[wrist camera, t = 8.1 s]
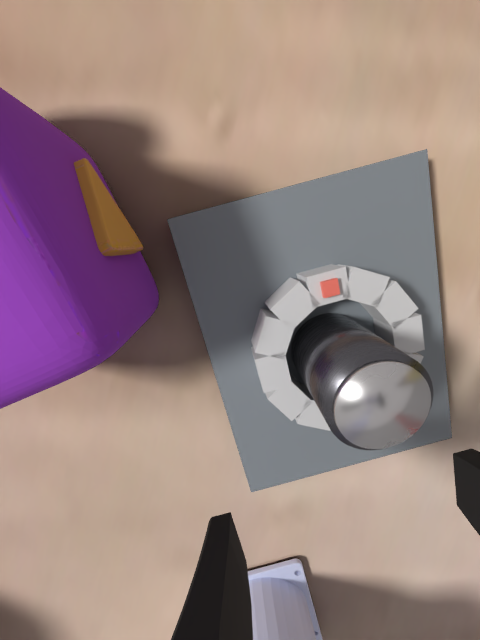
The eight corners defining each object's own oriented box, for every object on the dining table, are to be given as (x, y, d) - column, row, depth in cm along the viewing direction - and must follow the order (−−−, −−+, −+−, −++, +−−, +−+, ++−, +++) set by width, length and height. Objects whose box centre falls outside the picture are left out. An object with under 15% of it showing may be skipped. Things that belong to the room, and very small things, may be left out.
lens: (372, 364, 18) (449, 430, 12) (306, 392, 18) (347, 470, 12) (350, 300, 17) (423, 336, 11) (280, 331, 17) (311, 383, 11)
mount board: (439, 427, 21) (481, 461, 18) (249, 478, 21) (255, 523, 18) (412, 155, 17) (462, 132, 13) (170, 221, 17) (157, 214, 13)
